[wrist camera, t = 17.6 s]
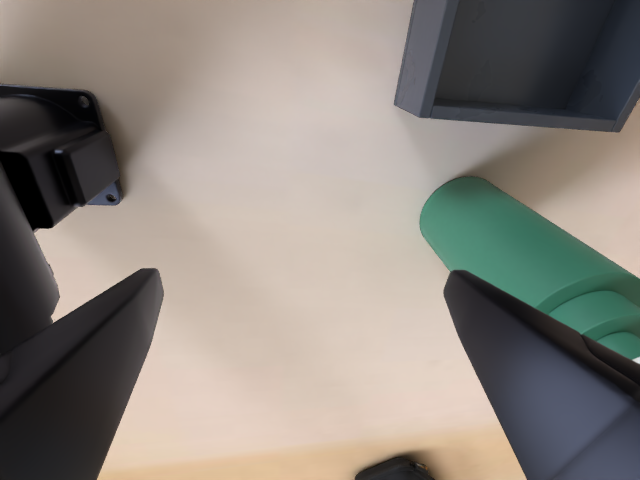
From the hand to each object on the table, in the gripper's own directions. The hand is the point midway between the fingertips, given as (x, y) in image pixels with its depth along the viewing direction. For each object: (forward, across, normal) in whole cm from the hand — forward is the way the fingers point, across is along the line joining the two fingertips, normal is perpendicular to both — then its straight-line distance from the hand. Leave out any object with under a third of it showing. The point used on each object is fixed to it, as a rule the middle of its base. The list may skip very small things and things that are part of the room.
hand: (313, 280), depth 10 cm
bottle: (+12, -12, +4) cm, 18 cm away
